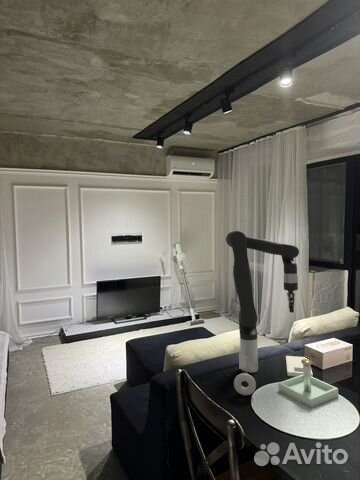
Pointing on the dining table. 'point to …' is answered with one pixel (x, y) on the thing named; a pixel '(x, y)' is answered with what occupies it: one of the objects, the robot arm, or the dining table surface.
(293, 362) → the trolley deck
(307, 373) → the pin
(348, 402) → the dining table surface
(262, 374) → the dining table surface
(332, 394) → the tray
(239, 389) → the donut
